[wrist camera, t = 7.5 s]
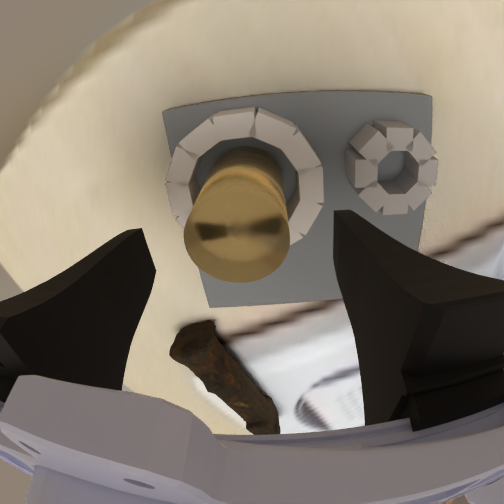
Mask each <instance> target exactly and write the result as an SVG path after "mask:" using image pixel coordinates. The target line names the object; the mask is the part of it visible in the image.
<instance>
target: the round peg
mask: <svg viewBox="0 0 504 504" xmlns="http://www.w3.org/2000/svg"><path fill="white" fill-rule="evenodd" d="M184 243H185V246H186V249H187V252H188V254H189V256H190V257H191V259H192V260H193V262H194V263H195V264H196V265H197V266H198V267H199V268H200V269H201V270H202V271H204V272H205V273H207V274H208V275H210V276H212V277H214V278H216V279H219V280H222V281H226V282H232V283H247V282H253V281H256V280H260V279H262V278H264V277H266V276H268V275H270V274H271V273H273V272H274V271H275V270H276V269H277V268H278V267H279V266H280V265H281V264H282V263H283V261H284V260H285V258H286V256H287V253H288V251H289V247H290V231H289V223H288V216H287V208H286V201H285V194H284V186H283V179H282V173H281V170H280V167H279V165H278V163H277V162H276V160H275V159H274V158H273V157H272V156H271V155H270V154H269V153H267V152H266V151H264V150H262V149H260V148H257V147H253V146H239V147H235V148H232V149H229V150H228V151H226V152H224V153H223V154H222V155H221V156H220V157H219V158H218V159H217V160H216V162H215V164H214V165H213V167H212V169H211V171H210V173H209V175H208V177H207V179H206V181H205V183H204V185H203V187H202V189H201V191H200V193H199V195H198V197H197V199H196V202H195V204H194V206H193V208H192V210H191V212H190V214H189V216H188V218H187V221H186V224H185V228H184Z"/></svg>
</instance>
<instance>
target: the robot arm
mask: <svg viewBox="0 0 504 504" xmlns="http://www.w3.org/2000/svg"><path fill="white" fill-rule="evenodd" d="M333 262H334V267H335V272H336V277H337V282H338V285H339V288H340V291H341V294H342V297H343V300H344V303H345V306H346V310H347V313H348V316H349V319H350V322H351V325H352V329H353V333H354V337H355V342H356V348H357V354H358V360H359V368H360V375H361V383H362V392H363V402H364V415H365V426H361V427H355V428H347V429H339V430H331V431H321V432H310V433H296V434H274V435H225V434H213V433H212V432H211V430H210V429H209V428H208V427H207V425H206V424H205V423H203V422H202V421H201V420H200V419H199V418H198V417H196V416H195V415H194V414H193V413H192V412H191V411H189V410H187V409H184V408H182V407H180V406H177V405H175V404H173V403H170V402H168V401H166V400H164V399H160V398H156V397H151V396H147V395H142V394H138V393H134V392H127V391H122V384H123V378H124V372H125V367H126V362H127V358H128V354H129V350H130V346H131V342H132V339H133V336H134V334H135V331H136V329H137V326H138V323H139V321H140V318H141V316H142V314H143V311H144V309H145V306H146V304H147V301H148V299H149V296H150V293H151V290H152V287H153V283H154V278H155V274H156V269H155V266H154V263H153V260H152V257H151V254H150V252H149V249H148V246H147V243H146V240H145V237H144V233H143V230H142V228H139V229H130V230H127V231H125V232H123V233H121V234H119V235H117V236H116V237H114V238H113V239H111V240H109V241H108V242H106V243H105V244H104V245H102V246H101V247H99V248H98V249H96V250H95V251H93V252H92V253H91V254H89V255H88V256H86V257H85V258H83V259H82V260H80V261H79V262H77V263H76V264H74V265H73V266H71V267H70V268H68V269H67V270H65V271H63V272H62V273H60V274H58V275H56V276H55V277H53V278H51V279H50V280H48V281H46V282H44V283H42V284H40V285H38V286H36V287H34V288H32V289H30V290H28V291H26V292H23V293H21V294H19V295H16V296H14V297H12V298H9V299H6V300H3V301H1V302H0V459H2V460H4V461H5V462H7V463H9V464H10V465H12V466H14V467H15V468H17V469H19V470H21V471H23V472H24V473H26V474H28V475H30V476H32V479H31V482H30V485H29V489H28V492H27V495H26V499H25V503H24V504H442V503H445V502H447V501H450V500H452V499H455V498H457V497H460V496H462V495H465V497H466V498H467V501H468V502H469V503H472V504H504V281H503V280H499V279H495V278H490V277H486V276H481V275H477V274H474V273H470V272H467V271H464V270H461V269H458V268H455V267H452V266H449V265H447V264H444V263H442V262H439V261H437V260H434V259H432V258H430V257H427V256H425V255H423V254H421V253H419V252H417V251H415V250H413V249H411V248H409V247H407V246H406V245H404V244H402V243H400V242H399V241H397V240H396V239H394V238H392V237H391V236H389V235H387V234H386V233H384V232H383V231H381V230H380V229H378V228H377V227H376V226H374V225H373V224H371V223H370V222H368V221H367V220H366V219H364V218H363V217H361V216H360V215H358V214H357V213H355V212H354V211H352V210H350V209H349V210H334V222H333Z"/></svg>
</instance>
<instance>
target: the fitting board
mask: <svg viewBox="0 0 504 504" xmlns="http://www.w3.org/2000/svg"><path fill="white" fill-rule="evenodd" d="M162 113H163V119H164V124H165V129H166V133H167V138H168V143H169V148H170V153H171V157H172V161H171V164H170V167H169V170H168V173H167V176H166V180H167V182H166V184H165V185H166V189H167V193H168V197H169V201H170V205H171V209H172V213H173V216H177V218H176V219H175V220H176V221H177V222H178V223H179V224H180V225H181V226H182V227H183V228H185V224H186V221H187V218H188V216H189V214H190V212H191V210H192V208H193V206H194V204H195V202H196V199H197V197H198V195H199V193H200V191H201V189H202V187H203V185H204V183H205V181H206V179H207V177H208V175H209V173H210V171H211V169H212V167H213V165H214V164H215V162H216V160H217V159H218V158H219V157H220V156H221V155H222V154H223V153H224V152H226V151H228V150H229V149H232V148H235V147H239V146H253V147H257V148H260V149H262V150H264V151H266V152H267V153H269V154H270V155H271V156H272V157H273V158H274V159H275V160H276V162H277V163H278V165H279V167H280V170H281V173H282V179H283V186H284V194H285V201H286V208H287V216H288V223H289V231H290V247H289V251H288V253H287V256H286V258H285V260H284V261H283V263H282V264H281V265H280V266H279V267H278V268H277V269H276V270H275V271H274V272H273V273H271V274H270V275H268V276H266V277H264V278H262V279H260V280H256V281H253V282H247V283H232V282H226V281H222V280H219V279H216V278H214V277H212V276H210V275H208V274H207V273H205V272H204V271H202V270H201V269H200V268H199V267H198V268H199V272H200V275H201V279H202V283H203V286H204V290H205V293H206V297H207V300H208V304H209V307H210V308H216V307H237V306H255V305H270V304H285V303H298V302H310V301H322V300H333V299H343V297H342V294H341V291H340V288H339V285H338V282H337V277H336V272H335V267H334V262H333V222H334V210H349V209H350V210H352V211H354V212H355V213H357V214H358V215H360V216H361V217H363V218H364V219H366V220H367V221H368V222H370V223H371V224H373V225H374V226H376V227H377V228H378V229H380V230H381V231H383V232H384V233H386V234H387V235H389V236H391V237H392V238H394V239H396V240H397V241H399V242H400V243H402V244H404V245H406V246H407V247H409V248H411V249H413V250H415V251H417V252H418V247H419V242H420V236H421V230H422V224H423V217H424V211H425V203H426V198H427V197H428V196H429V195H430V194H431V193H432V192H431V190H430V189H429V188H428V186H436V178H437V168H438V159H437V158H435V157H434V156H433V155H434V154H435V153H436V151H435V150H434V149H433V147H432V146H431V137H432V96H430V95H426V94H418V93H406V92H391V91H365V90H327V91H301V92H286V93H273V94H262V95H253V96H244V97H236V98H229V99H222V100H215V101H209V102H203V103H197V104H191V105H186V106H181V107H176V108H171V109H167V110H165V111H163V112H162Z"/></svg>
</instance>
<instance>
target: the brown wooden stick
mask: <svg viewBox="0 0 504 504" xmlns="http://www.w3.org/2000/svg"><path fill="white" fill-rule="evenodd" d="M215 327H216V326H215V325H214V324H213V323H212V321H210V320H209V321H205V322H201V323H194V324H191V325H189V326H187V327H185V328H183V329H182V330H181V331H179V332H178V334H177V335H176V338H175V340H174V343H173V344H172V346H171V348H170V354H169V355H170V356H171V358H172V359H174V360H175V361H177V362H178V363H181V364H183V365H185V366H187V367H188V368H189V369H190V370H191V371H192V372H193V373H194V374H195V375H196V376H197V377H198V378H200V380H201V381H203V383H204V385H205V387H206V389H207V391H208V392H211V393H214V394H216V395H217V396H218V397H219V398H220V399H222V400H223V401H224V402H225V403H226V404H227V405H228V406H229V407H230V408H232V409H233V410H234V411H235V412H236V413H237V414H238V415H240V416H241V418H243V420H244V421H246V429H247V430H248V431H249V432H251V433H253V434H254V435H274V434H280V426H279V417H278V413H277V410H276V407H275V406H274V404H273V401H272V399H271V398H270V397H269V396H264V395H262V393H261V392H260V391H259V389H258V388H257V387H256V386H255V384H254V382H253V381H252V380H251V379H250V378H249V377H248V376H247V375H246V374H245V373H244V371H243V370H242V369H241V367H240V366H239V364H238V363H237V362H236V360H235V359H234V358H233V357H232V356H231V355H230V354H229V353H228V352H227V350H226V349H225V348H224V347H223V346H222V345H221V343H220V342H219V341H218V339H217V338H216V336H215Z"/></svg>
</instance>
